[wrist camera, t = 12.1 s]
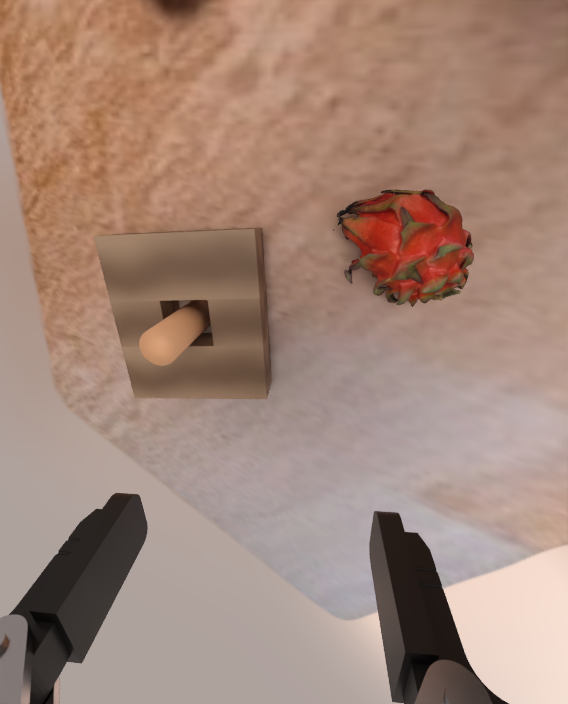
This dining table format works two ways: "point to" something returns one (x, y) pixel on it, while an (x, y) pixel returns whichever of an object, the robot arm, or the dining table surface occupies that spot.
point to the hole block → (192, 284)
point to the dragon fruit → (409, 245)
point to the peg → (175, 333)
